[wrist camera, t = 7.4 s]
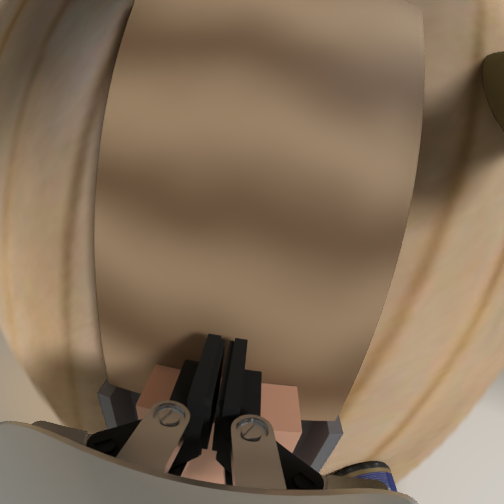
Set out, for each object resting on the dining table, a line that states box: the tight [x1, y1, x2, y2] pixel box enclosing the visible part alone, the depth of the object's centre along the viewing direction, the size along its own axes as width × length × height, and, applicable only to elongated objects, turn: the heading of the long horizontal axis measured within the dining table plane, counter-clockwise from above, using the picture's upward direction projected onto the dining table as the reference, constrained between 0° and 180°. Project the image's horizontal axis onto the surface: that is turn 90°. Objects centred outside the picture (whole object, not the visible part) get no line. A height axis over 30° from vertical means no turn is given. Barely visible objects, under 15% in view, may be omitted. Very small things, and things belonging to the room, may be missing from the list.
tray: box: [98, 378, 343, 472], centre depth 17 cm, size 18×14×3 cm
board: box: [94, 0, 425, 421], centre depth 12 cm, size 22×13×2 cm, turn 172°
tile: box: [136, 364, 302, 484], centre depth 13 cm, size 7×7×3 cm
